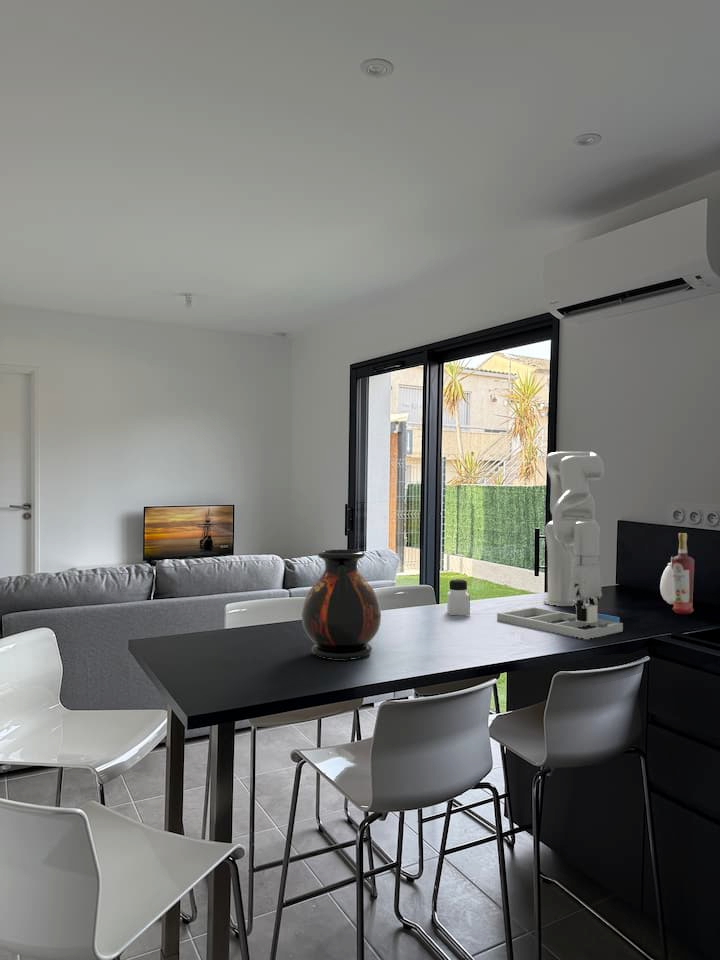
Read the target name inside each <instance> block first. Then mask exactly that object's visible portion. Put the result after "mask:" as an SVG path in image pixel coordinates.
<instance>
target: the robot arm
mask: <svg viewBox="0 0 720 960" xmlns="http://www.w3.org/2000/svg"><path fill="white" fill-rule="evenodd" d="M545 458H546V459H545V466H546V471H547V474H548V475H549V478H550V480H549V481H550V501H549V502H550V503H549V509H550V513H551V520H550V521H549V522H547V523H546V525H545V527H544V535H545V539H546V540H545V542H546V547H547V548H546V551H547V598H544V599H543V604H545V605H548V604H549V605H548V606H553V605H556V606H555V607H574V605H575V609H576V608H577V620H578V621H584V622H586V621H587V609H586V608H585V605H586V604H592V605H597V607H598V606H599V601H600V599H601V598H602V596H603V593H602V576H601V575H602V574H601V568H600V536H601V527H600V524H599V523H598V522H597V521H596V519H595V511H596V509H595V508H596V507H595V506H596V504H595V499H594V497H593V495H592V494H591V493H590V489H589V482H588V481H597V480H598V481H599V480H601V479H602V478H603V477H604V474H605V466H604V461H603V460H602V458H601V456H600V455H598V454H597V453H595V452H593V451H555V452H550V453H548V454H547V456H546V457H545ZM567 546H573V553H572V552H571V551H570V550H569V549H568V547H567Z"/></svg>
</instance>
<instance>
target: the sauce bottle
mask: <svg viewBox="0 0 720 960" xmlns="http://www.w3.org/2000/svg"><path fill="white" fill-rule="evenodd" d="M672 558H673V555H672V556H671V558H670V562H668V563H667V566H666V567H665V569H664V570H663V573H662V575H661V577H660V584H659V589H660V595H661V597H662V599H663V601H666V603H667V604H669V605H674V599H673V579H672V561H671V559H672Z"/></svg>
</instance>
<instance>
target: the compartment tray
mask: <svg viewBox="0 0 720 960" xmlns="http://www.w3.org/2000/svg"><path fill="white" fill-rule="evenodd" d="M531 615H532V616H531ZM537 615H538V616H537ZM496 616H497V617H496V621H498V622H501V621H502V623H506V622H507V624H512V625H516V626H521V627H527V628H529V629H534V628H535V629H534V630H540V631H543V632H548V631H549V633H553V632H554V634H558V633H559V634H558V635H562V634H563V635H564V636H567V637H572V636H573V637H572V638H576V637H578V638H577V639H581V638H583V639H582V640H586V639H587V640H590V638H592V639H594V638H595V637H596V638H599V637H604V636H608V635H611V634H612V635H614V634H617V633H621V632H624V631H623V629H624V626H623V625H624V623H623V622H620V617H619V616H614V615H608V614H603V613H602V614H601V613H598V612H597V617H598V622H593V623H584V622H579V621H576V613H575V614H574V613H570V612H569V613H568V612H562V611H558V610H553V609H548V608H547V609H546V608H541V607H536V606H530V607H525V608H520V609H519V608H518V609H513V610H508V611H501V612H497V614H496ZM525 616H527V617H525ZM558 620H559V621H562V620H564V621H562V622H558ZM552 621H554V622H557V623H553V622H552ZM548 622H549V623H548ZM588 625H590V626H589V627H592V628H587V629H583V628H584V627H588ZM583 626H584V627H583ZM593 626H595V627H593ZM578 627H580V628H578Z"/></svg>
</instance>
